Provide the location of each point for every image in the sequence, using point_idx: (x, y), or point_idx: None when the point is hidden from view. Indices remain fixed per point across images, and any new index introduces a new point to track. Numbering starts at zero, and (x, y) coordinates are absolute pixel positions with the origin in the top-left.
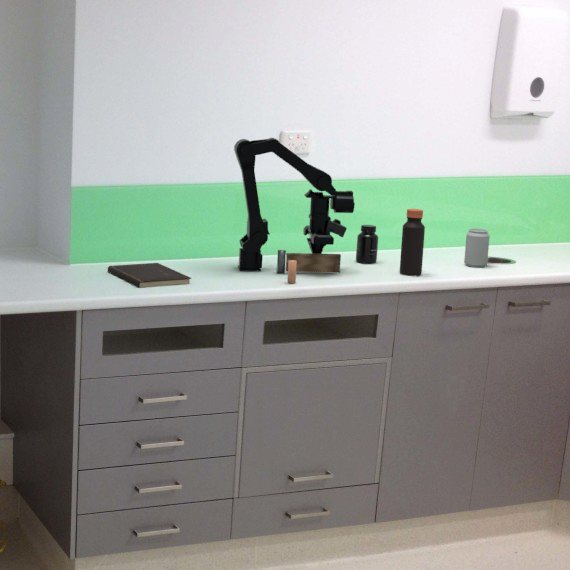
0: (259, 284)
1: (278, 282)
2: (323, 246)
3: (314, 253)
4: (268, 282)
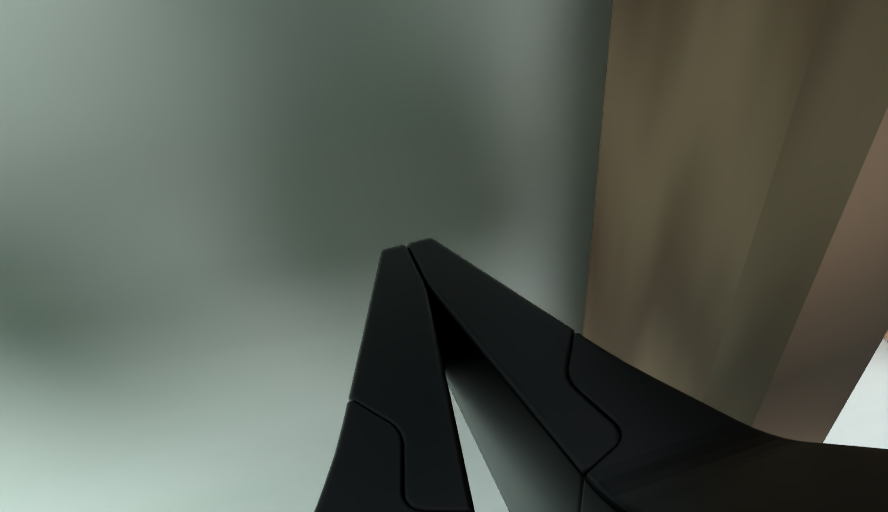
0: (873, 442)
1: (866, 382)
2: (787, 456)
3: (757, 421)
4: (845, 423)
